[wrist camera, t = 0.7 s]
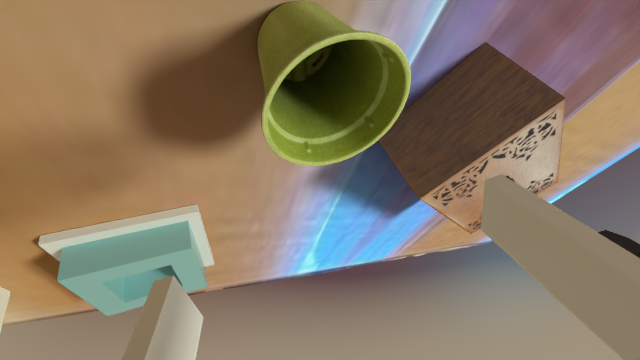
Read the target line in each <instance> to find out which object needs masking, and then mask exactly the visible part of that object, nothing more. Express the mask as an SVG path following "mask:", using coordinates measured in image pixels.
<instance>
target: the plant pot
mask: <svg viewBox="0 0 640 360" xmlns="http://www.w3.org/2000/svg"><path fill="white" fill-rule="evenodd" d="M257 46H258V56H259V61H260V66H261V71H262V76H263V82H264V88H265V98H264V101H263V105H262V112H261V125H262V130H263V134H264V137H265V140H266V142H267V144H268V145H269V147H270V148H271V149H272V150H273V152H275V153H276V154H277V155H278V156H279V157H281V158H282V159H284V160H287V161H289V162H291V163H295V164H298V165H303V166H321V165H329V164H332V163H337V162H341V161H343V160H346V159H348V158H351V157H353V156H355V155H357V154H358V153H360V152H362V151H364V150H365V149H367V148H368V147H370V146H371V145H373V144H374V143H375V142H377V141H378V140H379V139H380V138H381V137H382V136H383V135H384V134H385V133H386V132H387V131H388V130H389V129H390V128H391V127H392V125H393V124H394V122H395V121H396V120H397V118H398V117H399V115H400V113H401V111H402V110H403V108H404V105H405V103H406V101H407V98H408V94H409V90H410V83H411V71H410V66H409V63H408V60H407V58H406V56H405V54H404V52H403V51H402V50H401V49H400V48H399V46H397V45H396V44H395V43H394V42H393V41H391V40H390V39H388V38H386V37H385V36H382V35H380V34H377V33H373V32H368V31H357V30H354V29H352V28H351V27H349V26H348V25H346V24H345V23H343V22H342V21H340V20H339V19H338V18H336V17H335V16H333V15H332V14H330V13H329V12H328V11H326V10H325V9H323V8H322V7H320V6H319V5H317V4H315V3H313V2H310V1H306V0H304V1H295V2H289V3H284V4H282V5H280V6H279V7H277V8H276V9H275V10H273V11H272V12H271V13H270V14H269V15H268V16H267V18H266V19H265V21H264V22H263V24H262V26H261V29H260V31H259V35H258V42H257ZM321 53H323V57H322V58H321V60H320V61H319V62H318V63H317V64H316V65H315V66H312V64H313V62H315V60H317V59H318V58H319V57H320V55H321Z"/></svg>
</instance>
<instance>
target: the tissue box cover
mask: <svg viewBox="0 0 640 360" xmlns="http://www.w3.org/2000/svg"><path fill="white" fill-rule="evenodd" d="M565 101H566V98H565V97H563V96H562V95H560V94H559V93H558V92H556V91H555V90H553V89H552V88H550V87H549V86H548V85H546V84H545V83H543V82H542V81H540V80H539V79H538V78H536V77H535V76H533V75H532V74H531V73H529V72H528V71H526V70H525V69H523V68H522V67H521V66H519V65H518V64H516V63H515V62H513V61H512V60H511V59H509V58H508V57H506V56H505V55H503V54H502V53H501V52H499V51H498V50H496V49H495V48H494V47H492V46H491V45H489V44H488V43H486V42H485V43H484V44H483V45H482V46H481V47H479V48H478V49H477V50H476V51H475V52H473V53H472V54H471V55H470V56H469V57H468V58H466V59H465V60H464V61H463V62H462V63H460V64H459V65H458V66H457V67H456V68H454V69H453V70H452V71H451V72H450V73H448V74H447V75H446V76H445V77H444V78H442V79H441V80H440V81H439V82H438V83H437V84H435V85H434V86H433V87H432V88H431V89H429V90H428V91H427V92H426V93H425V94H423V95H422V96H421V97H420V98H419V99H417V100H416V101H415V102H414V103H413V104H411V105H410V106H409V107H408V108H407V109H406V110H404V111H403V112H402V113H401V114H400V115H399V117H398V118H397V120H396V121H395V122H394V124H393V125H392V127H391V128H390V129H389V130H388V131H387V132H386V133H385V134H384V135H383V136H382V137H381V138H380V139H379V142H380V143H381V145H382V146H383V147H384V149H385V150H386V152H387V153H388V155H389V156H390V157H391V159H392V160H393V162H394V163H395V165H396V166H397V167H398V169H399V170H400V172H401V173H402V174H403V176H404V177H405V179H406V180H407V182H408V183H409V184H410V186H411V187H412V189H413V190H414V192H415V193H416V194H417V196H418V197H419V199H420V200H422V201H423V202H425V203H426V204H428V205H429V206H431V207H432V208H434V209H435V210H437V211H438V212H440V213H441V214H443V215H444V216H445V217H447V218H448V219H450V220H451V221H453V222H454V223H456V224H457V225H459V226H460V227H462V228H463V229H465V230H466V231H468V232H469V233H471V234H472V233H474V232H475V231H477V230H479V229H480V228H481V222H482V209H483V196H484V183H485V179H488V178H492V177H495V176H498V175H501V174H502V175H504V176H505V177H507V178H509V179H510V180H512V181H514V182H515V183H517V184H519V185H520V186H522V187H523V188H525V189H527V190H528V191H530V192H532V193H533V194H535V195H538V194H539V193H541V192H543V191H544V190H546V189H548V188H549V187H551V186H553V185H554V184H556V183H558V174H559V163H560V153H561V143H562V132H563V122H564V111H565Z"/></svg>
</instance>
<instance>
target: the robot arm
mask: <svg viewBox="0 0 640 360" xmlns="http://www.w3.org/2000/svg"><path fill="white" fill-rule="evenodd" d="M481 230H482V231H483V232H484V233H485V234H486V235H487V236H489V237H490V238H491V239H492V240H493V241H494V242H495V243H496V244H497V245H498V246H499V247H501V248H502V249H503V250H504V251H505V252H506V253H507V254H508V255H509V256H510V257H512V258H513V259H514V260H515V261H516V262H517V263H518V264H519V265H520V266H521V267H523V268H524V269H525V270H526V271H527V272H528V273H529V274H530V275H531V276H532V277H533V278H534V279H536V280H537V281H538V282H539V283H540V284H541V285H542V286H543V287H544V288H545V289H547V290H548V291H549V292H550V293H551V294H552V295H553V296H554V297H555V298H556V299H558V300H559V301H560V302H561V303H562V304H563V305H564V306H565V307H566V308H567V309H569V311H571V312H572V313H573V314H574V315H575V316H576V317H577V318H578V319H579V320H580V321H582V322H583V323H584V324H585V325H586V326H587V327H588V328H589V329H590V330H591V331H592V332H594V333H595V334H596V335H597V336H598V337H599V338H600V339H601V340H602V341H604V342H605V343H606V344H607V345H608V346H609V347H610V348H611V349H612V350H613V351H614V352H615V353H617V354H618V355H619V356H620V357H621V358H622V359H623V360H640V244H638V243H636V242H635V241H633V240H631V239H629V238H627V237H624V236H621V235H618V234H615V233H613V232H610V231H607V230H604V231H601V232H598V233H597V232H596V231H594V230H592V229H591V228H589V227H588V226H586V225H584V224H583V223H581V222H579V221H577V220H576V219H574V218H573V217H571V216H569V215H568V214H566V213H565V212H563V211H561V210H560V209H558V208H556V207H555V206H553V205H551V204H550V203H548V202H546V201H545V200H543V199H542V198H540V197H538V196H537V195H535V194H533V193H532V192H530V191H528V190H527V189H525V188H523V187H522V186H520V185H519V184H517V183H515V182H514V181H512V180H510V179H509V178H507V177H505V176H504V175H502V174H501V175H498V176H495V177H492V178H488V179H485V183H484V196H483V209H482V222H481ZM202 322H203V316H202V315H201V313H200V312H199V310H198V309H197V308H196V306H195V305H194V303H193V302H192V300H191V299H190V298H189V296H188V295H187V293H186V292H185V291H184V289H183V288H182V286H181V285H180V284H179V282H178V281H177V279H176V278H175V276H174V275H172V276H169V277H165V278H162V279H159V280H156V281H154V282H153V285H152V287H151V290H150V292H149V295H148V297H147V300H146V302H145V304H144V307H143V309H142V312H141V315H140V317H139V319H138V321H137V324H136V326H135V329H134V331H133V334H132V336H131V339H130V341H129V343H128V346H127V348H126V351H125V353H124V356H123V358H122V360H195V359H196V354H197V349H198V343H199V338H200V333H201V327H202Z"/></svg>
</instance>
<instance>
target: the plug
mask: <svg viewBox="0 0 640 360" xmlns="http://www.w3.org/2000/svg"><path fill="white" fill-rule="evenodd" d="M10 293H11V292H10V291H8V290H6V289H4V288H2V287H0V332H1V328H2V324H3V320H4V316H5V312H6V308H7V304H8V301H9V297H10Z"/></svg>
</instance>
